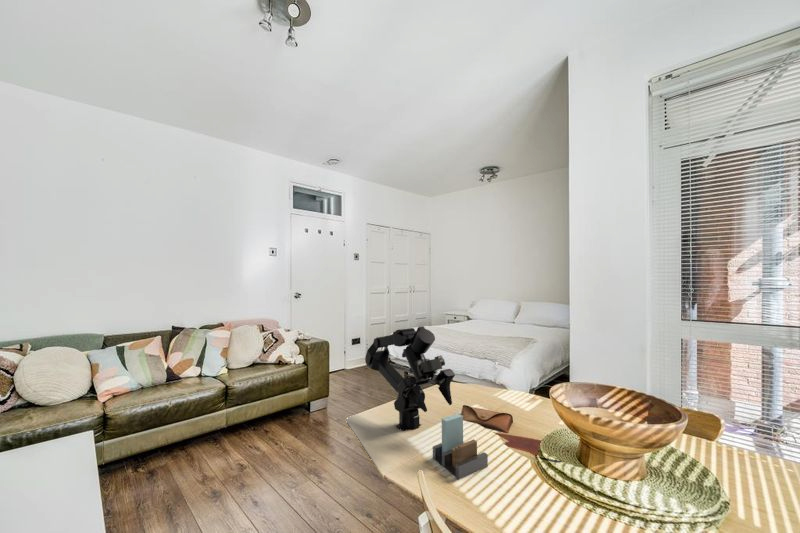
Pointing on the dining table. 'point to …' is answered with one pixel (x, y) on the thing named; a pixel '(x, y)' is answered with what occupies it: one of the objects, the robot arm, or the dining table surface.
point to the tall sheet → (452, 432)
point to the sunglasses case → (487, 418)
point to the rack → (462, 467)
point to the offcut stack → (464, 452)
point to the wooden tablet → (521, 443)
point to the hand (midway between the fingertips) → (438, 407)
